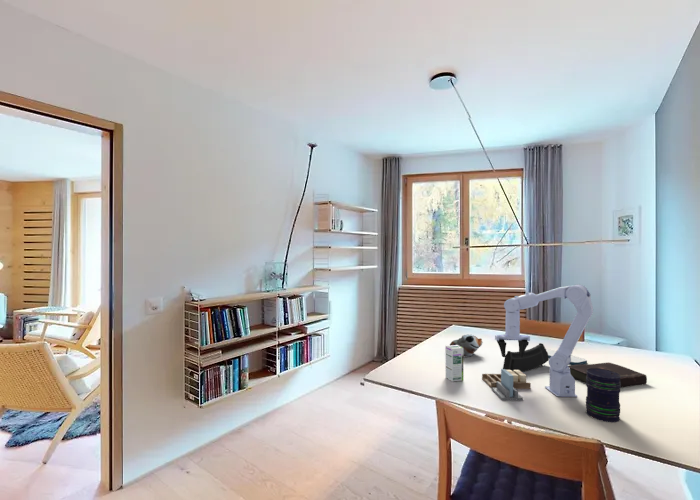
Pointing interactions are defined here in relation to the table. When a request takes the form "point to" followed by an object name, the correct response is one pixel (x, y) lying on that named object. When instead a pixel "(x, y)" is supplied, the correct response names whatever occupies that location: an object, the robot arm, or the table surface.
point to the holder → (506, 393)
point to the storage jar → (603, 395)
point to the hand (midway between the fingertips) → (512, 356)
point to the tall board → (507, 380)
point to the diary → (626, 375)
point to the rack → (493, 378)
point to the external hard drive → (574, 359)
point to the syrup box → (454, 362)
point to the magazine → (526, 359)
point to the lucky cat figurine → (468, 344)
